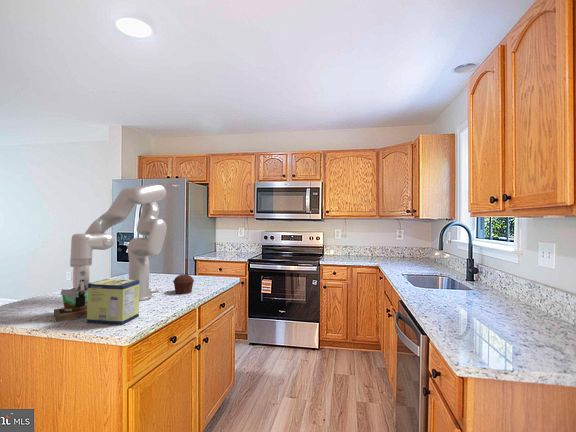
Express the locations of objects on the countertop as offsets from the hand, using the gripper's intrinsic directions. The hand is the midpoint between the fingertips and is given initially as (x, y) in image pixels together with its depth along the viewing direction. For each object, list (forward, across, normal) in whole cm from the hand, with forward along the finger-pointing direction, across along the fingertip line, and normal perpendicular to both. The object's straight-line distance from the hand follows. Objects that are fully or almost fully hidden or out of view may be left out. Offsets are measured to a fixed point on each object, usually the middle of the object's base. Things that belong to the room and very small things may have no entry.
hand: (79, 304), depth 121 cm
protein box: (+5, -16, -10) cm, 19 cm away
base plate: (+4, 0, -1) cm, 4 cm away
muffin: (+4, +10, -50) cm, 51 cm away
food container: (+2, -1, -1) cm, 3 cm away
